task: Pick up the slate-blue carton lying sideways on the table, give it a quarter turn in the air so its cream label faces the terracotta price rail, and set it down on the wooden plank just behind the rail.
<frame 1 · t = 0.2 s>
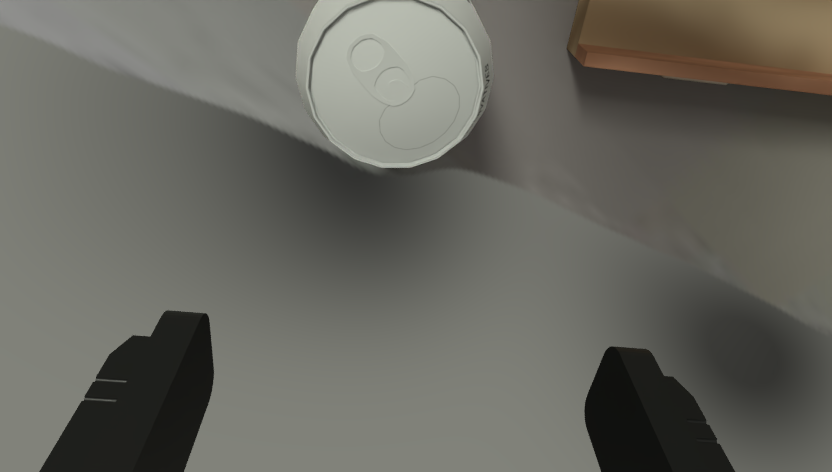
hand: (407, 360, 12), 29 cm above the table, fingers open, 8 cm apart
supplement can: (396, 10, 35), on the table
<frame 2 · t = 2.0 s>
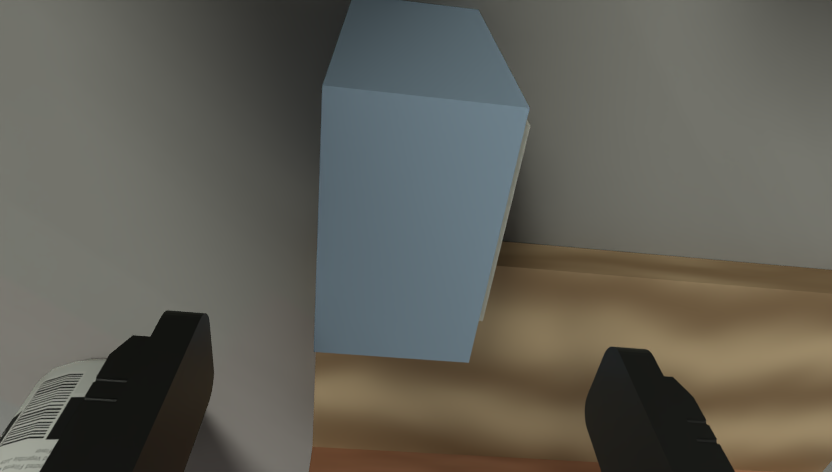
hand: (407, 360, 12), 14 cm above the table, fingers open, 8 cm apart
wooden plank: (597, 358, 31), on the table
supplement can: (121, 400, 32), on the table
carton: (404, 106, 23), on the table
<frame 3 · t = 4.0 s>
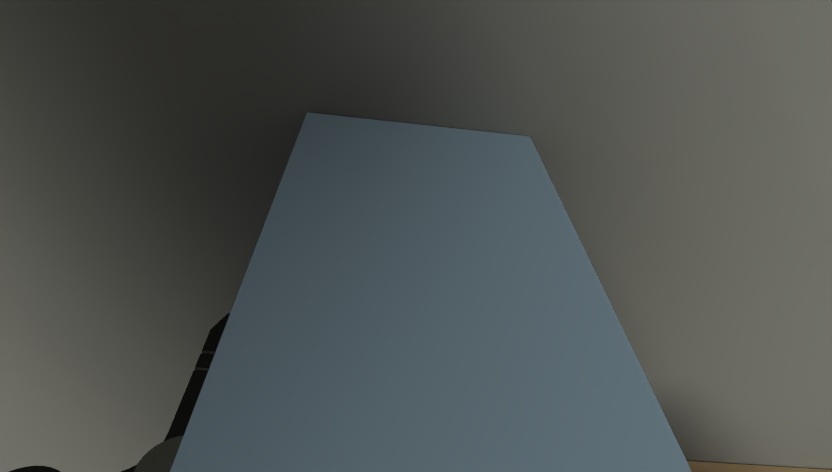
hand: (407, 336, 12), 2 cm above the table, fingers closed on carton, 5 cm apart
carton: (399, 280, 14), on the table, touching gripper
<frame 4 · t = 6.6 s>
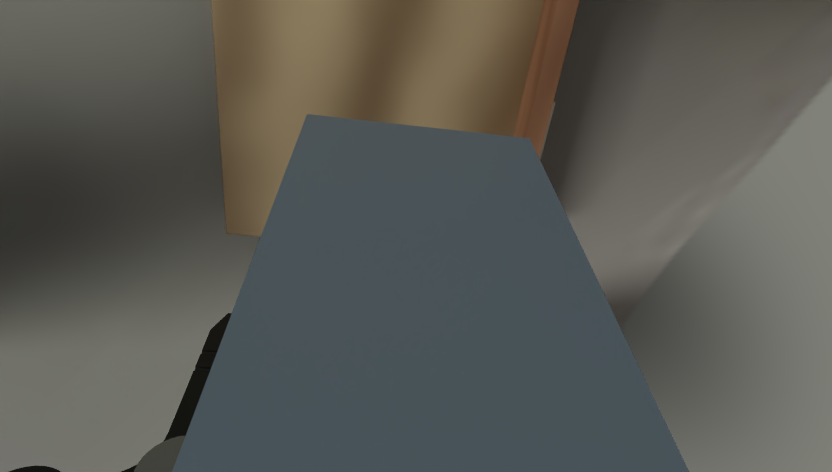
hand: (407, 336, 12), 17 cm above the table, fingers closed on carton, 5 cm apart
carton: (399, 281, 14), point 15 cm above the table, touching gripper
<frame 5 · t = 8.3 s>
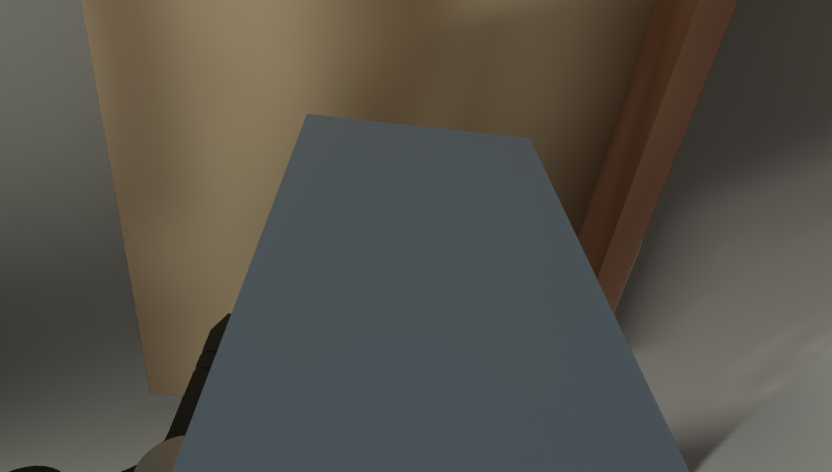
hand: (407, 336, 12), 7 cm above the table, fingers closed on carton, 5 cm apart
carton: (399, 281, 14), point 5 cm above the table, touching gripper
when the fingers open (5 cm above the table, at t = 9.6 s): carton drops 1 cm, resting on wooden plank.
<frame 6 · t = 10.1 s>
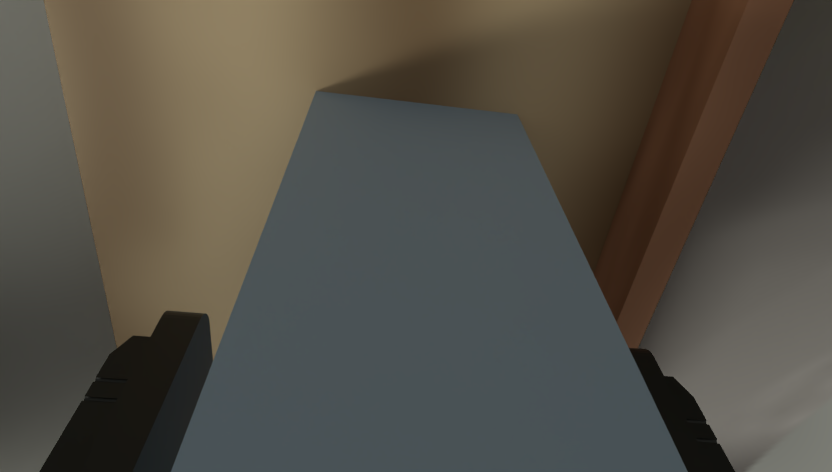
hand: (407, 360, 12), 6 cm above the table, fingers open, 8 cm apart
carton: (398, 248, 15), point 2 cm above the table, touching wooden plank
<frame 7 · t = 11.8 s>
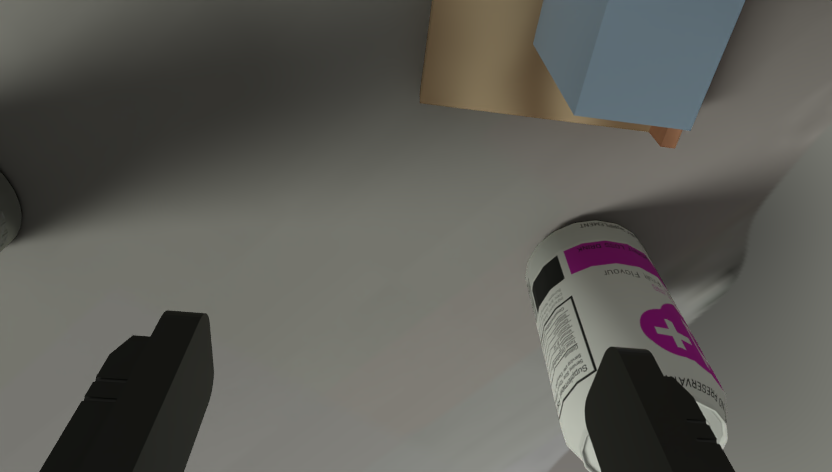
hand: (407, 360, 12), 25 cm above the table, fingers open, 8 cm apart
supplement can: (581, 262, 41), on the table
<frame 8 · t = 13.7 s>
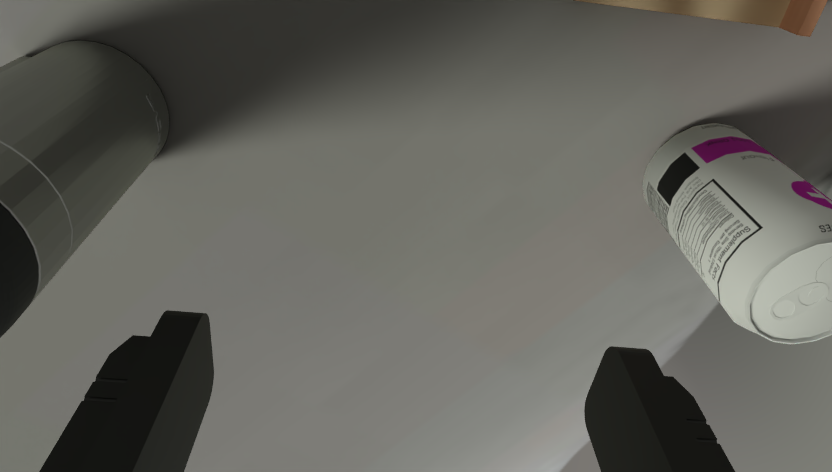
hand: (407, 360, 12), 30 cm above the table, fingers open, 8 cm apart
supplement can: (693, 169, 43), on the table
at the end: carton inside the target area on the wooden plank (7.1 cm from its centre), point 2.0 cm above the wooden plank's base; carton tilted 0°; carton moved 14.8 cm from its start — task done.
